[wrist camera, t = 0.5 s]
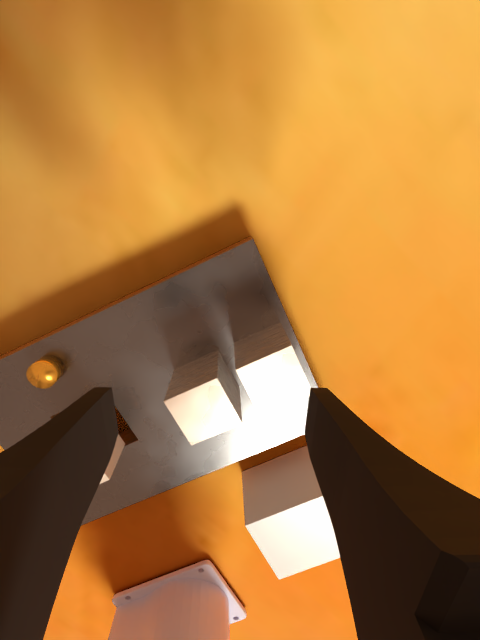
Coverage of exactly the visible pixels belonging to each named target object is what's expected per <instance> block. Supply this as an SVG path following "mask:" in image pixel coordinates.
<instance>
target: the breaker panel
mask: <svg viewBox="0 0 480 640" xmlns="http://www.w3.org/2000/svg"><path fill="white" fill-rule="evenodd" d="M94 387H112V392H113V398H114V405H115V407H116V408H117V410H118V411H119V413H120V414H121V415H122V417H123V418H124V420H125V421H126V423H127V424H128V425H129V427H130V429H127V430H125V431H123V432H120V433H118V434H119V436H120V437H121V438H122V440H123V441H124V443H125V446H124V448H123V450H122V452H121V455H120V457H119V459H118V462H117V464H116V466H115V469H114V471H113V473H112V475H111V478H110V480H108V481H106V482H103V483H101V484H99V486H98V488H97V491H96V493H95V495H94V497H93V499H92V502H91V504H90V506H89V508H88V510H87V513H86V515H85V517H84V519H83V521H82V524H81V525H83V524H86V523H88V522H91V521H93V520H96V519H98V518H100V517H103V516H105V515H108V514H110V513H113V512H115V511H118V510H120V509H123V508H125V507H127V506H130V505H132V504H135V503H137V502H140V501H142V500H145V499H147V498H149V497H152V496H154V495H157V494H159V493H162V492H164V491H167V490H169V489H172V488H174V487H176V486H179V485H181V484H184V483H186V482H189V481H191V480H194V479H196V478H198V477H201V476H203V475H206V474H208V473H211V472H213V471H216V470H218V469H221V468H223V467H225V466H228V465H230V464H233V463H235V462H238V461H240V460H243V459H245V458H247V457H250V456H252V455H255V454H257V453H260V452H262V451H265V450H267V449H270V448H272V447H274V446H277V445H279V444H282V443H284V442H287V441H289V440H292V439H294V438H296V437H299V436H301V435H304V434H305V432H304V431H305V424H306V416H307V409H308V401H309V394H310V388H318V386H317V384H316V382H315V379H314V377H313V375H312V373H311V370H310V368H309V366H308V363H307V361H306V359H305V357H304V354H303V352H302V350H301V347H300V345H299V343H298V341H297V338H296V336H295V334H294V331H293V329H292V327H291V325H290V322H289V320H288V318H287V315H286V313H285V311H284V309H283V306H282V304H281V302H280V299H279V297H278V295H277V293H276V290H275V288H274V286H273V283H272V281H271V279H270V277H269V274H268V272H267V270H266V267H265V265H264V263H263V261H262V258H261V256H260V254H259V251H258V249H257V247H256V245H255V242H254V240H253V238H252V237H248V238H246V239H244V240H241V241H239V242H237V243H235V244H233V245H231V246H229V247H227V248H225V249H223V250H221V251H218V252H216V253H214V254H212V255H210V256H208V257H206V258H204V259H202V260H200V261H198V262H196V263H193V264H191V265H189V266H187V267H185V268H183V269H181V270H179V271H177V272H175V273H173V274H171V275H168V276H166V277H164V278H162V279H160V280H158V281H156V282H154V283H152V284H150V285H148V286H146V287H143V288H141V289H139V290H137V291H135V292H133V293H131V294H129V295H127V296H125V297H123V298H121V299H118V300H116V301H114V302H112V303H110V304H108V305H106V306H104V307H102V308H100V309H98V310H96V311H93V312H91V313H89V314H87V315H85V316H83V317H81V318H79V319H77V320H75V321H73V322H71V323H68V324H66V325H64V326H62V327H60V328H58V329H56V330H54V331H52V332H50V333H48V334H46V335H43V336H41V337H39V338H37V339H35V340H33V341H31V342H29V343H27V344H25V345H23V346H20V347H18V348H16V349H14V350H12V351H10V352H8V353H6V354H4V355H2V356H0V445H1V446H2V448H3V449H4V450H6V449H8V448H9V447H11V446H13V445H14V444H16V443H17V442H19V441H20V440H22V439H23V438H25V437H26V436H28V435H29V434H30V433H32V432H33V431H35V430H36V429H38V428H39V427H41V426H42V425H44V424H45V423H47V422H48V421H49V420H51V419H52V418H53V417H55V416H56V415H58V414H59V413H60V412H62V411H63V410H64V409H66V408H67V407H68V406H70V405H71V404H72V403H74V402H75V401H76V400H78V399H79V398H80V397H82V396H83V395H84V394H86V393H87V392H88V391H90V390H91V389H93V388H94Z"/></svg>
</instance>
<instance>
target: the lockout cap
mask: <svg viewBox="0 0 480 640" xmlns="http://www.w3.org/2000/svg"><path fill="white" fill-rule="evenodd" d="M242 483H243V499H244V515H245V526H246V528H247V529H248V531H249V533H250V534H251V536H252V537H253V539H254V541H255V542H256V544H257V545H258V547H259V549H260V550H261V552H262V553H263V555H264V557H265V558H266V560H267V561H268V563H269V564H270V566H271V568H272V569H273V571H274V572H275V574H276V576H277V577H278V579H279V580H280V579H282V578H285V577H288V576H290V575H293V574H296V573H299V572H301V571H304V570H307V569H310V568H312V567H315V566H318V565H321V564H323V563H326V562H329V561H332V560H334V559H337V558H340V554H339V550H338V545H337V541H336V537H335V533H334V529H333V526H332V523H331V519H330V516H329V513H328V510H327V507H326V505H325V502H324V499H323V496H322V493H321V490H320V487H319V484H318V481H317V478H316V475H315V472H314V469H313V466H312V463H311V460H310V457H309V452H308V447H307V446H304V447H302V448H299V449H297V450H294V451H292V452H289V453H287V454H284V455H282V456H279V457H277V458H275V459H272V460H270V461H267V462H265V463H262V464H260V465H257V466H255V467H252V468H250V469H247V470H245V471H242Z"/></svg>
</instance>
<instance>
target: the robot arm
mask: <svg viewBox="0 0 480 640" xmlns="http://www.w3.org/2000/svg"><path fill="white" fill-rule="evenodd" d="M304 432H305V437H306V442H307V447H308V452H309V457H310V460H311V463H312V466H313V469H314V472H315V475H316V478H317V481H318V484H319V487H320V490H321V493H322V496H323V499H324V502H325V505H326V507H327V510H328V513H329V516H330V519H331V523H332V526H333V529H334V533H335V537H336V541H337V545H338V550H339V554H340V558H341V562H342V566H343V571H344V575H345V580H346V584H347V589H348V593H349V598H350V602H351V607H352V612H353V617H354V622H355V627H356V632H357V636H358V640H480V499H479V498H477V497H475V496H473V495H471V494H469V493H467V492H466V491H464V490H462V489H460V488H458V487H456V486H455V485H453V484H451V483H449V482H448V481H446V480H444V479H443V478H441V477H439V476H438V475H436V474H434V473H433V472H431V471H429V470H428V469H426V468H425V467H423V466H422V465H420V464H418V463H417V462H415V461H414V460H413V459H411V458H410V457H408V456H407V455H405V454H404V453H402V452H401V451H400V450H398V449H397V448H395V447H394V446H393V445H391V444H390V443H389V442H388V441H386V440H385V439H384V438H383V437H381V436H380V435H379V434H378V433H376V432H375V431H374V430H373V429H371V428H370V427H369V426H368V425H367V424H366V423H364V422H363V421H362V420H361V419H360V418H359V417H358V416H356V415H355V414H354V413H353V412H352V411H351V410H350V409H349V408H348V407H347V406H346V405H345V404H343V403H342V402H341V401H340V400H339V399H338V398H337V397H336V396H335V395H334V394H333V393H332V392H331V391H330V390H328V389H327V388H310V394H309V401H308V409H307V416H306V424H305V431H304ZM118 433H119V431H118V424H117V418H116V411H115V405H114V398H113V392H112V387H94V388H93V389H91V390H90V391H88V392H87V393H86V394H84V395H83V396H82V397H80V398H79V399H78V400H76V401H75V402H74V403H72V404H71V405H70V406H68V407H67V408H66V409H64V410H63V411H62V412H60V413H59V414H58V415H56V416H55V417H53V418H52V419H51V420H49V421H48V422H47V423H45V424H44V425H42V426H41V427H39V428H38V429H36V430H35V431H33V432H32V433H30V434H29V435H28V436H26V437H25V438H23V439H22V440H20V441H19V442H17V443H16V444H14V445H13V446H11V447H9V448H8V449H6V450H4V451H3V452H1V453H0V640H43V637H44V634H45V631H46V627H47V624H48V621H49V617H50V614H51V611H52V608H53V604H54V601H55V598H56V595H57V592H58V589H59V586H60V583H61V580H62V577H63V574H64V571H65V568H66V565H67V562H68V559H69V556H70V553H71V550H72V547H73V545H74V542H75V539H76V536H77V534H78V531H79V529H80V526H81V524H82V521H83V519H84V517H85V515H86V513H87V510H88V508H89V506H90V504H91V502H92V499H93V497H94V495H95V493H96V491H97V488H98V486H99V484H100V482H101V480H102V477H103V475H104V473H105V471H106V468H107V466H108V464H109V461H110V459H111V456H112V453H113V450H114V447H115V443H116V440H117V436H118ZM112 602H113V604H114V605H115V606H116V607H117V609H116V612H115V616H114V619H113V623H112V627H111V630H110V634H109V638H108V640H230V630H229V624H232V623H235V622H237V621H240V620H243V619H245V618H246V616H247V614H246V610H245V608H244V607H243V606H242V604H241V603H240V601H239V600H238V599H237V597H236V596H235V594H234V593H233V592H232V590H231V589H230V587H229V586H228V584H227V583H226V582H225V580H224V579H223V577H222V576H221V575H220V573H219V572H218V570H217V569H216V568H215V566H214V565H213V563H212V562H211V561H209V560H203V561H201V562H198V563H195V564H193V565H190V566H188V567H185V568H182V569H180V570H177V571H174V572H172V573H169V574H167V575H164V576H161V577H159V578H156V579H153V580H151V581H148V582H145V583H143V584H140V585H138V586H135V587H132V588H130V589H127V590H124V591H122V592H119V593H117V594H115V595H114V596H113V599H112Z"/></svg>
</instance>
